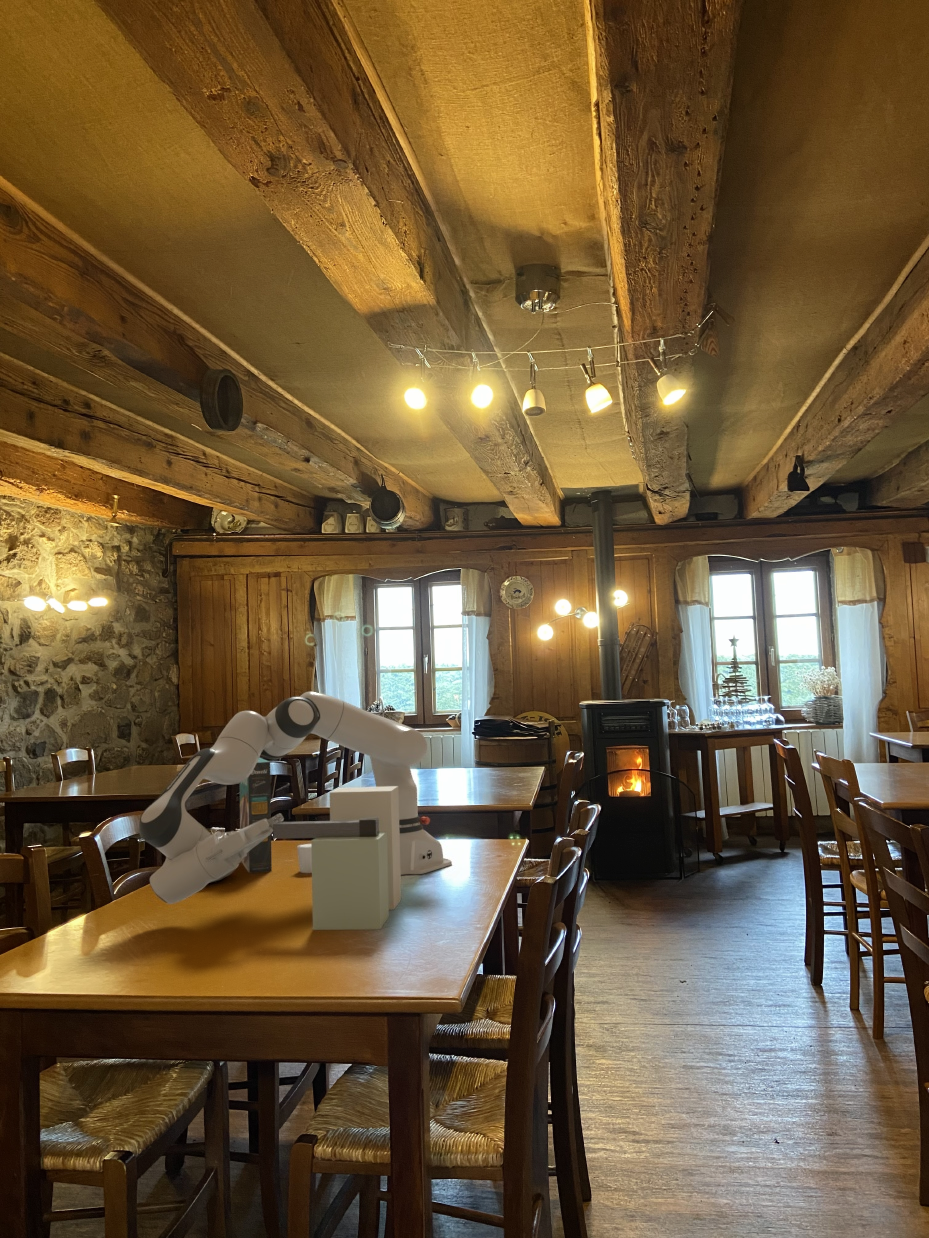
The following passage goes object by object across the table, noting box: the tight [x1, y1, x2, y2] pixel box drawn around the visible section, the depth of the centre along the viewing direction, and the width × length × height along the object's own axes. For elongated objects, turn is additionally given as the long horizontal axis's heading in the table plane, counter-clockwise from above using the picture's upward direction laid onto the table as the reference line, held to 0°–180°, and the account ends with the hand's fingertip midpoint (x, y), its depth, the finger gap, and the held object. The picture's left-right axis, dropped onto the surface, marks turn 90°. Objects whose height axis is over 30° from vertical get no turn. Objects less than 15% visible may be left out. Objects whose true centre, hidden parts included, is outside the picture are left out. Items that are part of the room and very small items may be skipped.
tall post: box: [329, 786, 402, 911], centre depth 201 cm, size 14×10×26 cm
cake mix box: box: [239, 757, 273, 874], centre depth 253 cm, size 22×6×30 cm, turn 21°
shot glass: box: [296, 842, 312, 874], centre depth 241 cm, size 7×7×7 cm
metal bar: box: [272, 817, 379, 840], centre depth 186 cm, size 22×4×4 cm, turn 85°
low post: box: [311, 832, 390, 931], centre depth 184 cm, size 14×10×18 cm
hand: (275, 819), depth 187 cm, fingers open, 8 cm apart
